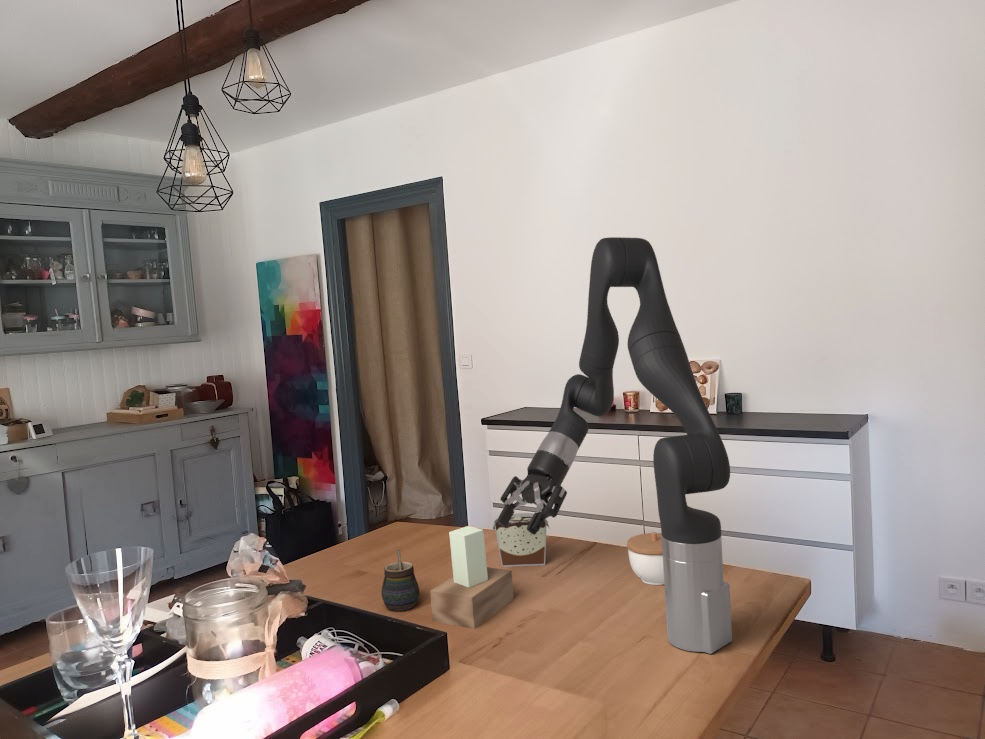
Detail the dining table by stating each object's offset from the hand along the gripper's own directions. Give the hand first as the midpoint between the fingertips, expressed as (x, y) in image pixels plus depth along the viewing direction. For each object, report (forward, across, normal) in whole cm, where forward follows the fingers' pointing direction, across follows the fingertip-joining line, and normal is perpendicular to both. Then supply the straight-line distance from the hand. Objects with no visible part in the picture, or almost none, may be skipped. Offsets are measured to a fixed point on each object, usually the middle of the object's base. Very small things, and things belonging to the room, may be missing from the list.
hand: (515, 528), depth 144 cm
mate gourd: (+23, -12, -5) cm, 27 cm away
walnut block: (+17, 0, +1) cm, 17 cm away
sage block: (+13, 0, -4) cm, 14 cm away
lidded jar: (-6, +17, +24) cm, 30 cm away
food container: (0, -12, +18) cm, 22 cm away
